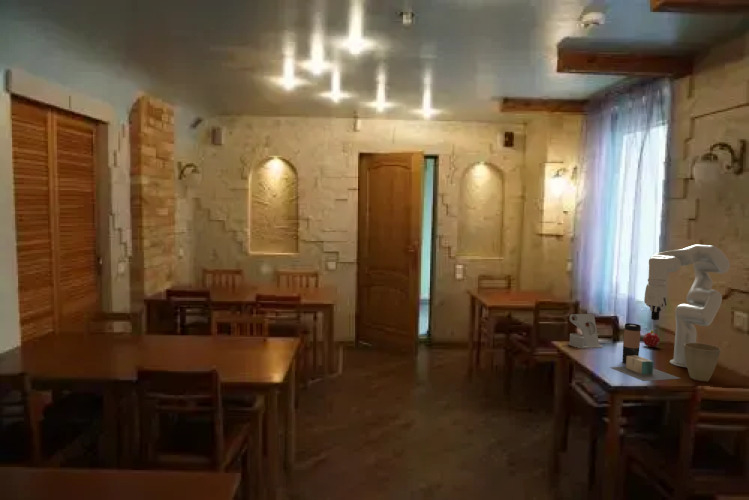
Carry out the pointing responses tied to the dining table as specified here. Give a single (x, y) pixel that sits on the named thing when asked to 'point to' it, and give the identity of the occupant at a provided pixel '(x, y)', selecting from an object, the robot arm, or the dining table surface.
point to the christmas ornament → (651, 339)
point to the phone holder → (584, 332)
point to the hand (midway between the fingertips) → (655, 319)
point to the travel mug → (631, 340)
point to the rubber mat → (646, 377)
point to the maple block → (639, 364)
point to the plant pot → (701, 360)
